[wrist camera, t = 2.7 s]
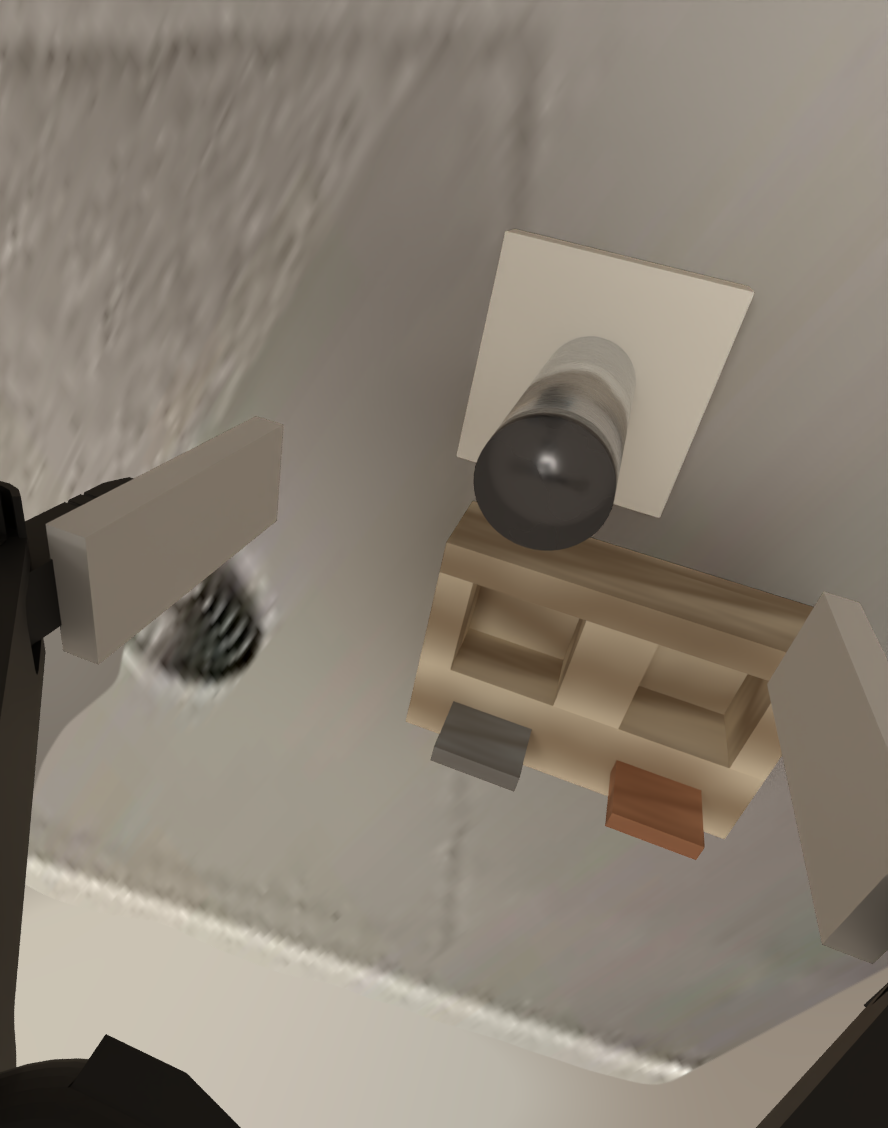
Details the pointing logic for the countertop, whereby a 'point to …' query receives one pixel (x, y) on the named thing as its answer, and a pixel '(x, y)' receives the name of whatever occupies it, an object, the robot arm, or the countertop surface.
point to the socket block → (604, 679)
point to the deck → (622, 315)
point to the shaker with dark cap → (560, 449)
